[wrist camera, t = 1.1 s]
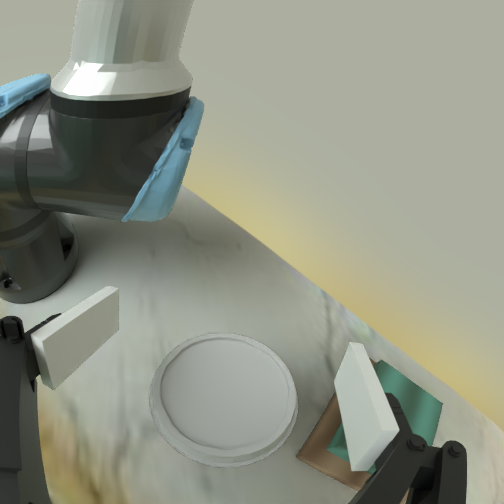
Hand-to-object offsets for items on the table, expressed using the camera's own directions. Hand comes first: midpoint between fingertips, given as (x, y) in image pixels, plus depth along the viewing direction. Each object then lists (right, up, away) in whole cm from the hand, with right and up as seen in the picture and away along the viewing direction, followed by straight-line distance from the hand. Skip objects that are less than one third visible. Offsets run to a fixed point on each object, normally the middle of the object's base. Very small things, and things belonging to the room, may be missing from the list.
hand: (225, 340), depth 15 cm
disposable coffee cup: (-2, -13, +8) cm, 15 cm away
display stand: (+17, -17, +12) cm, 27 cm away
